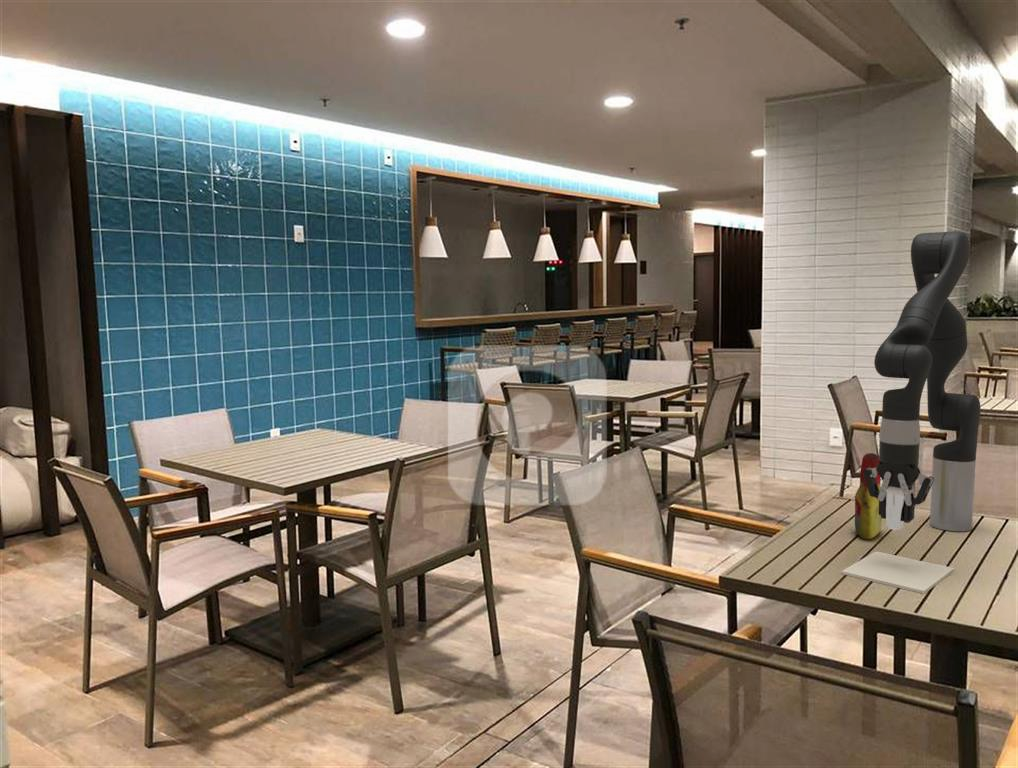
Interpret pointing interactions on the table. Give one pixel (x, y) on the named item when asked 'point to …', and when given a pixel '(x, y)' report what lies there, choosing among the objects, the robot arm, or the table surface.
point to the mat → (899, 572)
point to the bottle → (867, 502)
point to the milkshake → (895, 508)
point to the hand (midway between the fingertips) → (895, 519)
